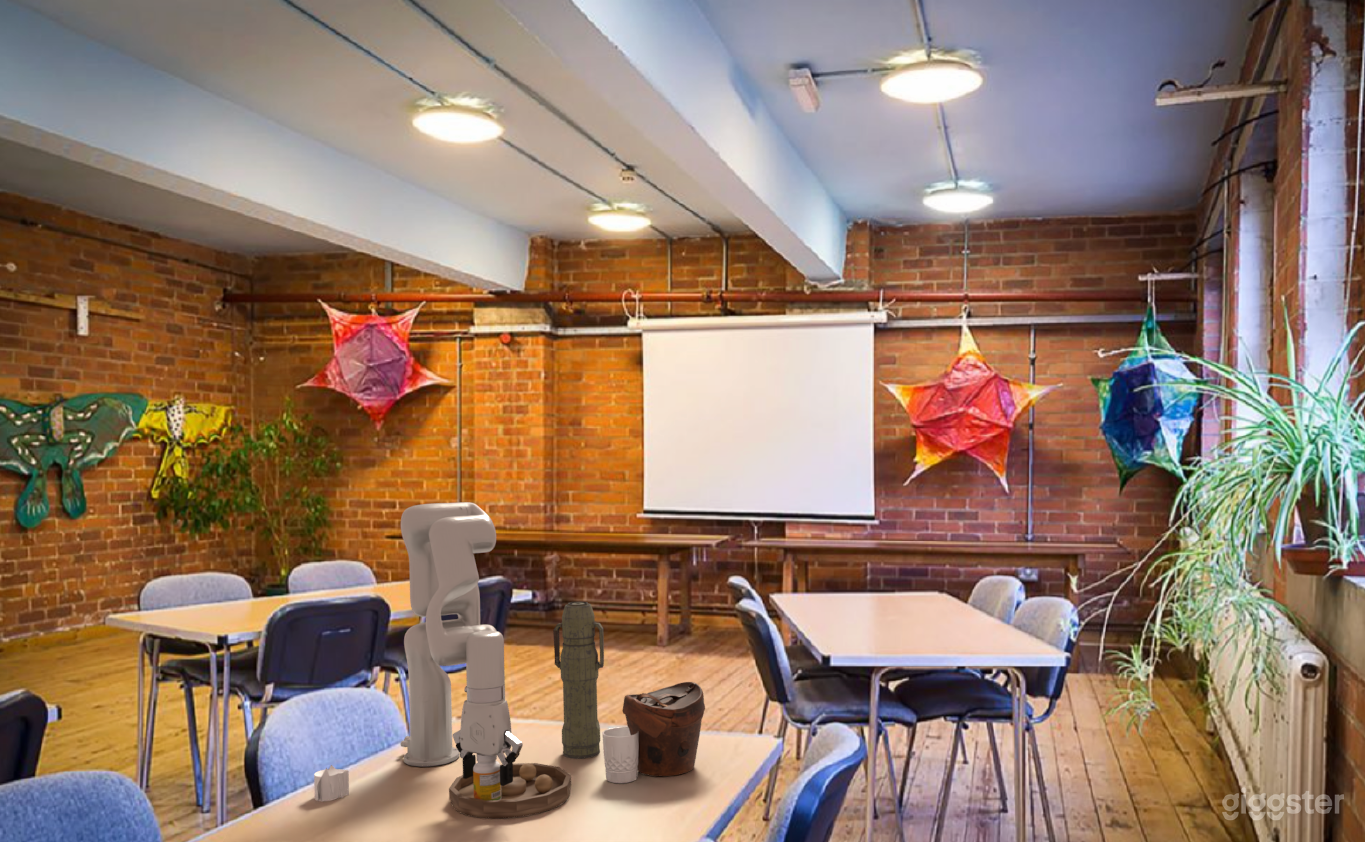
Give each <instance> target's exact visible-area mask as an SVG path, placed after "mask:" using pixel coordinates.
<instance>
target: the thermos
mask: <svg viewBox="0 0 1365 842" xmlns="http://www.w3.org/2000/svg"><path fill="white" fill-rule="evenodd" d="M595 618H596V617H595V612H594V610H593V607H592V604H591V603H588V602H587V601H571V602H568V604H565V606H564V608H563V612H562V615H561V623H560V622H559V623H557V624H556V626H555V627H554V629H553V630H552V631H553V632H552V633H553V649H554V665H555V666H556V667H557V668H558V669H559V670H560V679H561V681H562V693H563V694H562V695H563V697H562V699H563V700H562V701H563V723H562V724H563V725H562V728H561V743H562V755H563V757H565V758H569V759H576V760H577V759H588V758H593V757H596V756H598V755H600V752H601V749H600V743H601V726H600V722H599V719H598V684H597V681H598V678H599V670H600V669H601V668H603V667H604V665H605V646H604V645H605V644H604V641H605V639H604V627H603V626H602V624H601V623H600V622H597V621H595ZM596 628H597V629H598V630H599V631H598V632H599V637H598V638H599V653H598V651H597V648H596V641H595V636H596ZM560 629H561V630H562V631H561V632H562V633H561V634H562V636H561V637H562V640H563V641H562V649H560V646H561V645H560V644H561V643H560ZM560 650H561V651H560Z"/></svg>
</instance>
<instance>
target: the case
mask: <svg viewBox="0 0 1365 842" xmlns="http://www.w3.org/2000/svg"><path fill="white" fill-rule="evenodd" d="M705 710H706V704H705V699H704V691H703V689H702V687H701V685H699V684H698V683H696V682H695V681H684V682H683V681H682V682H679V683H676V684H673V685H670V686H666V687H663V688H659V689H657V690H653V691H650V692H645V693H644V692H643V693H638V694H627V695H624V698H623V705H622V713H623V715H625V720H626V725H627V726H626V727H629V731H630V734H631V735H634V734H636V733H637V732H638V731H639V755H638V766H637V767H638V773H640V774H643V775H645V776H646V775H647V776H653V777H671V776H679V775H682V774H685V773H688V772H691V771H692V770H693V769H694V768H695V765H696V759H697V754H698V746H699V740H700V735H701V728H702V721H703V716H704V714H705Z"/></svg>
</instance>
